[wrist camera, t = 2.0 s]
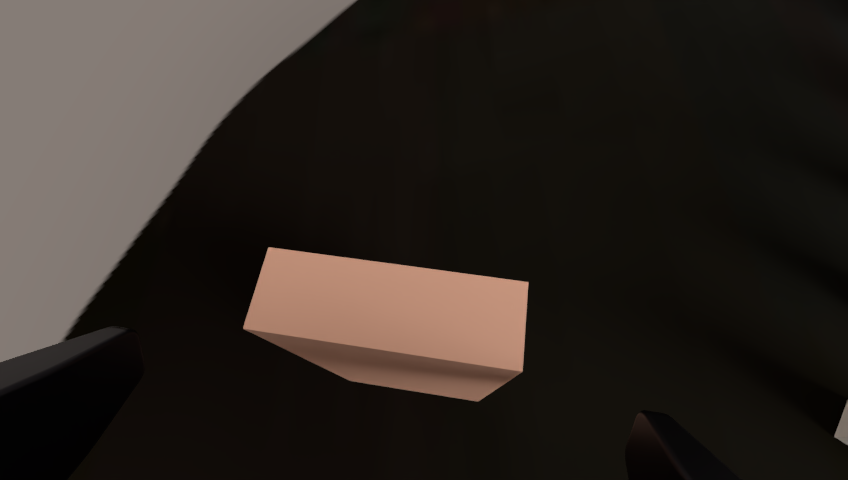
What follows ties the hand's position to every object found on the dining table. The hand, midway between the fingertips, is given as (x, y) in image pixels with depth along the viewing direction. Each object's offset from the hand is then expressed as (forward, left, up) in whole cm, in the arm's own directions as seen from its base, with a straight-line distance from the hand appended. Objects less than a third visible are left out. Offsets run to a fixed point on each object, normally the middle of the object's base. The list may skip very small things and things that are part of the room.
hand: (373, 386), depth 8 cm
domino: (+1, 0, -10) cm, 10 cm away
